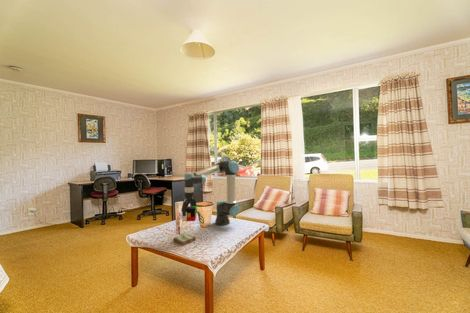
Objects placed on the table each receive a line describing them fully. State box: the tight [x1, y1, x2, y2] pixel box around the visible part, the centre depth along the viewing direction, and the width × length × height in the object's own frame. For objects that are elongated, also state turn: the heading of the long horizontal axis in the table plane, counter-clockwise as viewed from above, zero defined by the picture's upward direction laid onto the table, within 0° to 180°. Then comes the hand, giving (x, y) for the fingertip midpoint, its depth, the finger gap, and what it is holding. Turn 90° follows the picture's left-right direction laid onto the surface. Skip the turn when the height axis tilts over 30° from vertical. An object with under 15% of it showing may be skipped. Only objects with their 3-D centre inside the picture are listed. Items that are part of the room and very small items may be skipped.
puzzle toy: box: [181, 205, 197, 222], centre depth 181 cm, size 10×10×10 cm
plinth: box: [172, 233, 196, 246], centre depth 180 cm, size 13×13×3 cm
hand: (189, 217), depth 181 cm, fingers closed on puzzle toy, 12 cm apart
